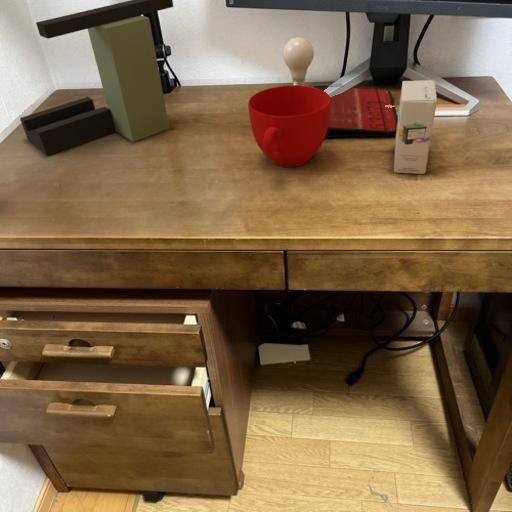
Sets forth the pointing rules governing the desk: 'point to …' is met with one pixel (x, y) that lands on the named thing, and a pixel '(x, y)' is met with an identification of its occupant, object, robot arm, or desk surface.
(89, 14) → the pad strip
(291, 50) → the lightbulb
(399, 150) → the ink box
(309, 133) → the ceramic cup
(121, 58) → the stand
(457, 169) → the desk surface
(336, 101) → the binder
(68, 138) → the dock pad
